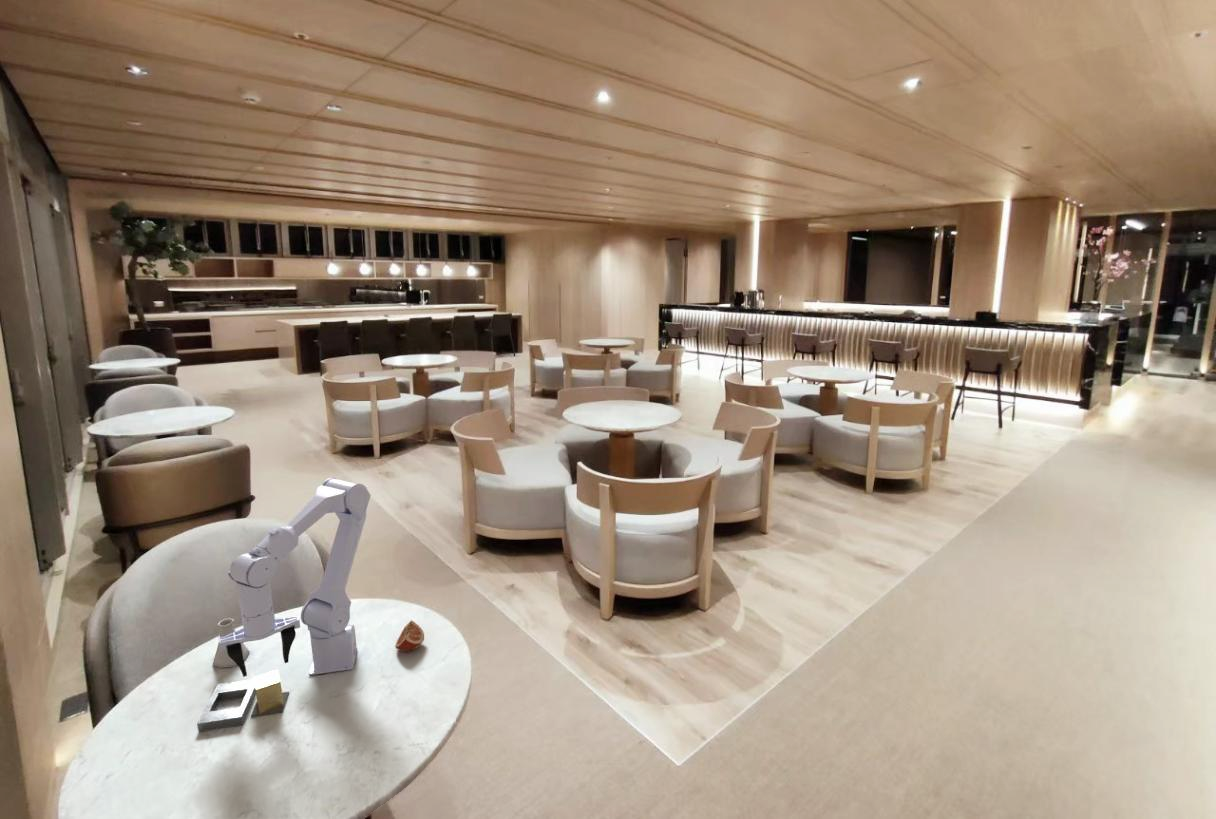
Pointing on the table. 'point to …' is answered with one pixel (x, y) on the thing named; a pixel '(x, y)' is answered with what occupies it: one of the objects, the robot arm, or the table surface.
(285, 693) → the flat gray plate
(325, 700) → the table surface
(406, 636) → the fruit slice
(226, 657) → the flask
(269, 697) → the block
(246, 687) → the gray rectangular frame
